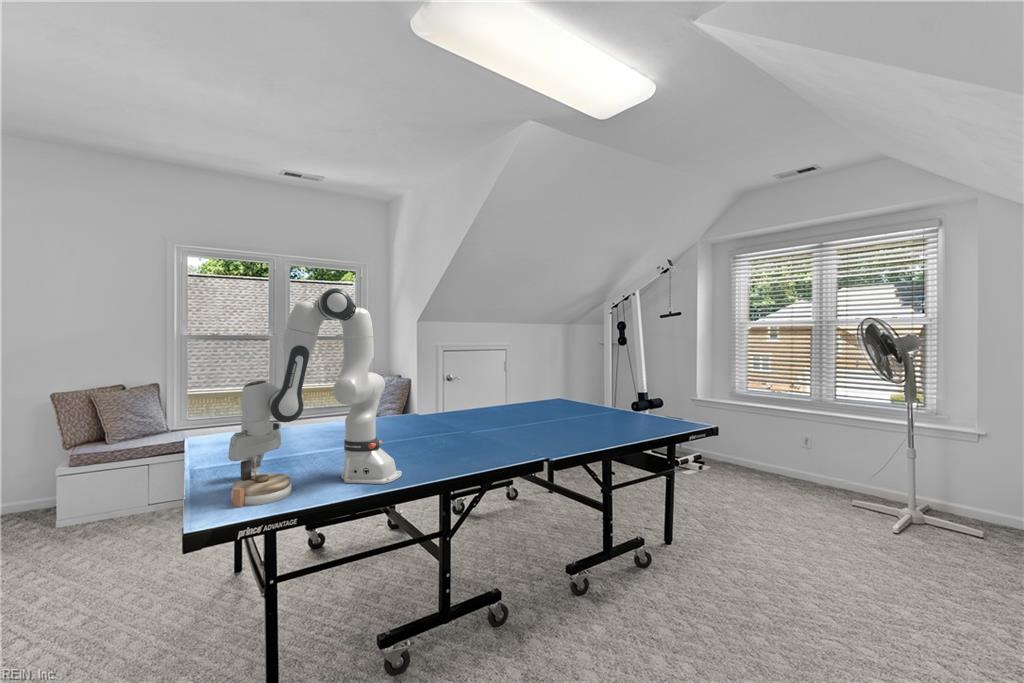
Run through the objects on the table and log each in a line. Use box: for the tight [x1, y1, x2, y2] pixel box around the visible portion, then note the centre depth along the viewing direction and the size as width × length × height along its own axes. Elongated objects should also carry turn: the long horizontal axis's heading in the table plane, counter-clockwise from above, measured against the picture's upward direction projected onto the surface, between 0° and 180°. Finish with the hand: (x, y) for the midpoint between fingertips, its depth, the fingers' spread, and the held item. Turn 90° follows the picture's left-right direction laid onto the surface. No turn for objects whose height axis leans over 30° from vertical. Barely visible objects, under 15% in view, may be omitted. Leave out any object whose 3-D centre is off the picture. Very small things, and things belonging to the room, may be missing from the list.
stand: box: [230, 481, 292, 508], centre depth 166 cm, size 18×20×6 cm
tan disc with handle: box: [232, 460, 291, 496], centre depth 167 cm, size 17×17×8 cm
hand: (256, 467), depth 173 cm, fingers closed
